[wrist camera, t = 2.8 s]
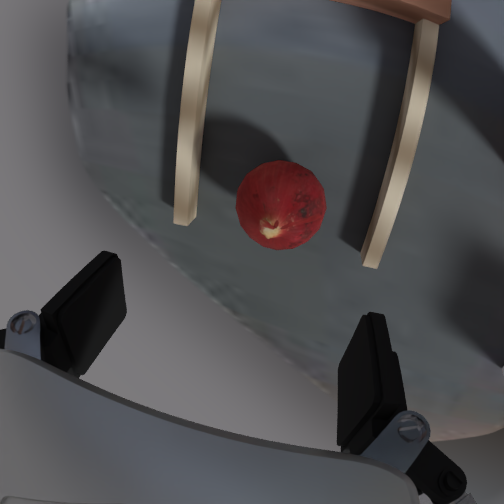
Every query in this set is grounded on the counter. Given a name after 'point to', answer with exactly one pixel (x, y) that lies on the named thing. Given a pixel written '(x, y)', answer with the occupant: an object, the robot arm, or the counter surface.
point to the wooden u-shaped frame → (406, 136)
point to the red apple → (280, 204)
